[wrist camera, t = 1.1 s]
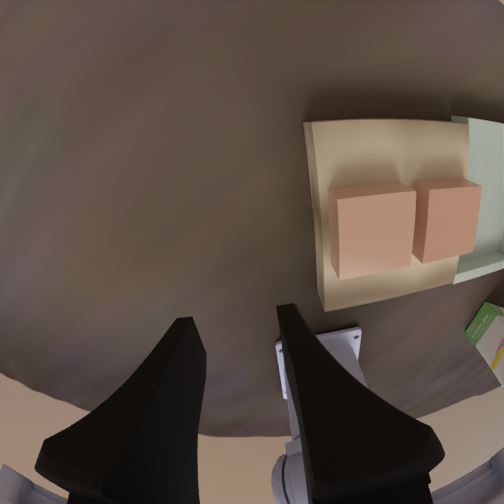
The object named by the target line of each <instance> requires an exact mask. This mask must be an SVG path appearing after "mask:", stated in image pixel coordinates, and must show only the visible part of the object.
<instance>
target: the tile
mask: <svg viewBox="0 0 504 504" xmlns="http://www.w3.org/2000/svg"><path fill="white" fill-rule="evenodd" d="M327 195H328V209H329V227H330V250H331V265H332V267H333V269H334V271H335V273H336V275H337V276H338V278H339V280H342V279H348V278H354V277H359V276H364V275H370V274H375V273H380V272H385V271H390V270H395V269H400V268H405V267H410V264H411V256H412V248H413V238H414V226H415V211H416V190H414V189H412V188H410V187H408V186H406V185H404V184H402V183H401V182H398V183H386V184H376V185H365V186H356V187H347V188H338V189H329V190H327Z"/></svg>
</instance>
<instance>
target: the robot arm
mask: <svg viewBox="0 0 504 504" xmlns="http://www.w3.org/2000/svg"><path fill="white" fill-rule="evenodd" d="M276 307H277V315H278V322H279V329H280V336H281V341H278V342H277V343H276V352H277V359H278V365H279V372H280V378H281V385H282V391H283V398H284V399H287V401H288V409H289V417H290V426H291V434H292V441H291V442H288V443H286V454H284V455H282V456H280V457H279V458H278V460H277V462H276V464H275V465H274V468H273V471H272V478H271V479H272V480H271V481H272V491H273V495H274V499H275V502H276V504H504V448H503V449H501V450H500V451H499V452H498V453H496V454H495V455H494V456H493V457H491V459H490V460H489V461H487V462H485V463H484V464H482V465H481V466H479V467H478V468H476V469H475V470H473V471H471V472H469V473H468V474H466V475H464V476H463V477H461V478H459V479H457V480H455V481H453V482H452V483H450V484H448V485H446V486H444V487H442V488H440V489H438V490H436V491H434V492H432V493H430V490H429V486H428V484H430V483H431V479H430V476H429V472H430V471H431V470H432V469H433V468H434V467H436V466H437V465H438V464H439V463H440V462H441V461H442V460H443V458H444V456H445V452H444V450H443V447H442V445H441V442H440V441H439V439H438V437H437V436H436V434H435V433H434V431H433V429H432V428H431V427H430V426H429V425H426V424H424V423H422V422H420V421H418V420H416V419H415V418H413V417H411V416H409V415H407V414H405V413H404V412H402V411H400V410H399V409H397V408H395V407H394V406H392V405H391V404H389V403H388V402H386V401H385V400H383V399H382V398H381V397H379V396H378V395H376V394H375V393H374V392H372V391H371V390H370V389H368V387H367V384H366V381H365V379H364V376H363V373H362V371H361V368H360V365H359V363H358V355H359V349H360V341H361V334H362V330H361V328H360V327H354V328H349V329H344V330H339V331H334V332H329V333H324V334H318V335H315V334H314V333H313V331H312V330H311V329H310V327H309V326H308V324H307V323H306V321H305V320H304V318H303V317H302V315H301V313H300V312H299V310H298V308H297V305H295V304H294V303H292V304H286V305H279V306H276ZM356 335H357V336H356ZM280 349H282V350H280ZM206 355H207V354H206V351H205V349H204V346H203V344H202V341H201V338H200V336H199V333H198V331H197V328H196V325H195V323H194V320H193V317H184V318H177V319H176V320H175V321H174V323H173V324H172V325H171V327H170V328H169V329H168V331H167V332H166V333H165V335H164V336H163V337H162V339H161V340H160V341H159V343H158V344H157V345H156V346H155V348H154V349H153V350H152V352H151V353H150V354H149V355H148V357H147V358H146V359H145V360H144V361H143V363H142V364H141V365H140V366H139V367H138V368H137V370H136V371H135V372H134V373H133V374H132V375H131V376H130V378H129V379H128V380H127V381H126V382H125V383H124V384H123V385H122V386H121V387H120V388H119V389H118V390H117V391H116V392H114V393H113V394H112V395H111V396H110V397H109V398H108V399H107V400H105V401H104V402H103V403H102V404H100V405H99V406H98V407H97V408H96V409H94V410H93V411H92V412H90V413H89V414H88V415H86V416H85V417H83V418H82V419H81V420H79V421H77V422H76V423H74V424H73V425H71V426H70V427H68V428H66V429H65V430H62V431H61V432H59V433H57V434H55V435H53V436H51V437H49V438H47V439H45V440H44V442H43V445H42V447H41V450H40V453H39V456H38V458H37V461H36V465H35V470H36V472H38V473H39V474H40V475H41V476H43V477H44V478H46V479H47V480H49V481H51V482H52V483H54V484H56V485H57V486H59V487H61V488H62V489H64V490H66V491H68V492H70V493H69V497H68V499H66V498H64V497H61V496H59V495H57V494H55V493H52V492H50V491H48V490H46V489H44V488H42V487H40V486H38V485H36V484H35V483H33V482H32V481H30V480H29V479H27V478H26V477H24V476H23V475H21V474H19V473H18V472H16V471H14V470H13V469H11V468H10V467H8V466H6V465H2V468H1V471H0V504H200V500H199V488H198V468H197V467H198V464H197V447H198V442H197V441H198V427H199V420H200V413H201V407H202V400H203V394H204V387H205V380H206Z"/></svg>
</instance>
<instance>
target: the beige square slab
mask: <svg viewBox="0 0 504 504" xmlns="http://www.w3.org/2000/svg"><path fill="white" fill-rule="evenodd" d="M303 128H304V136H305V143H306V151H307V160H308V168H309V178H310V187H311V198H312V209H313V221H314V234H315V249H316V266H317V288H318V295H319V297H320V300H321V303H322V306H323V308H324V311H325V312H326V311H332V310H337V309H342V308H348V307H353V306H357V305H362V304H367V303H372V302H376V301H381V300H385V299H390V298H394V297H398V296H402V295H407V294H411V293H415V292H419V291H423V290H426V289H430V288H434V287H438V286H441V285H445V284H449V283H452V282H454V278H455V274H456V269H457V265H458V260H459V256H455V257H451V258H446V259H442V260H437V261H433V262H428V263H424V264H422V263H421V262H420V261H419V260H418V259H417V258H416V257H415V256H414V255H413V254H412V256H411V264H410V267H405V268H400V269H395V270H390V271H385V272H380V273H375V274H370V275H364V276H359V277H354V278H348V279H342V280H339V278H338V276H337V275H336V273H335V271H334V269H333V267H332V265H331V250H330V227H329V209H328V195H327V190H329V189H338V188H347V187H356V186H365V185H376V184H386V183H398V182H401V183H402V184H404V185H406V186H408V187H410V188H412V189H413V181H425V180H441V179H461V178H465V179H467V180H469V124H463V123H457V122H450V121H439V120H424V119H398V118H366V119H339V120H323V121H310V122H303Z"/></svg>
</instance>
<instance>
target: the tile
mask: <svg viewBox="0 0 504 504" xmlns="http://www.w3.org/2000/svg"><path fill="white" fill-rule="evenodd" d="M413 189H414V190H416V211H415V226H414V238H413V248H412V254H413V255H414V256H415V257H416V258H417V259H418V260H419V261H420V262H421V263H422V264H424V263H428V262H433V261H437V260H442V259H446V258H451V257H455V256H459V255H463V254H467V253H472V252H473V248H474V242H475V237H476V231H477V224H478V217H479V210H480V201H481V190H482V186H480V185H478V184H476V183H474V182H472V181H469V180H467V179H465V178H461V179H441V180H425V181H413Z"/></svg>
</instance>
